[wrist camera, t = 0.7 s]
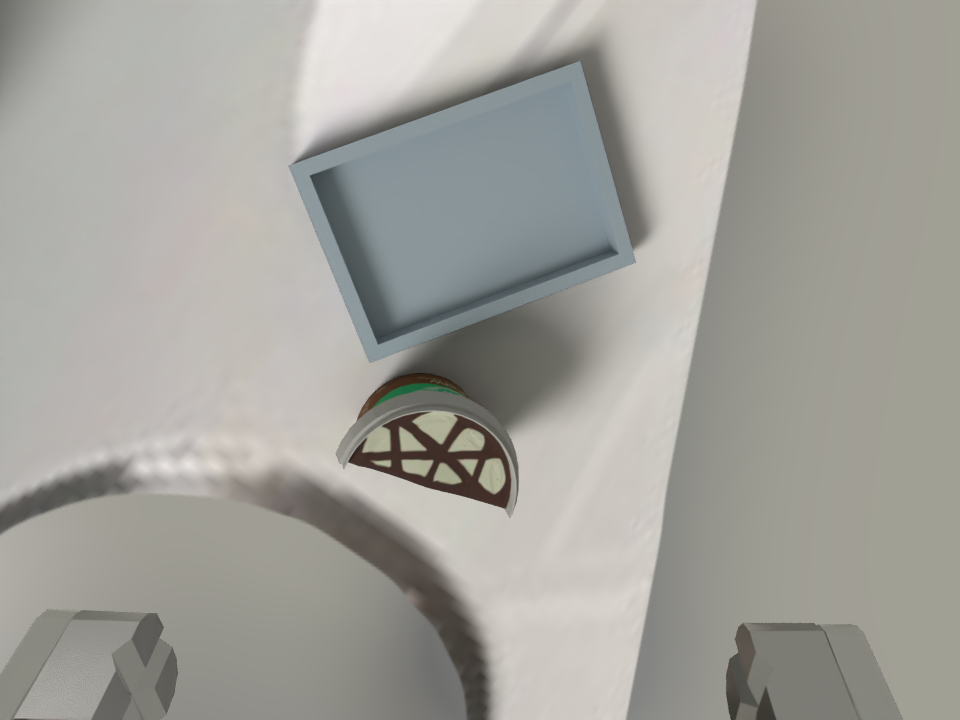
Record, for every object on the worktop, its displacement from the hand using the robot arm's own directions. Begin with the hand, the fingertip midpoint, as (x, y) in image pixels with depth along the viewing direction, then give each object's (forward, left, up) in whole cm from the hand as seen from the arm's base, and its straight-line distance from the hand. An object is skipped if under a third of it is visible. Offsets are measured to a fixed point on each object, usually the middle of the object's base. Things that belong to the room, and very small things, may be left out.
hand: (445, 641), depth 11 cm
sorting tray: (0, +7, -44) cm, 44 cm away
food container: (+12, 0, -44) cm, 46 cm away
